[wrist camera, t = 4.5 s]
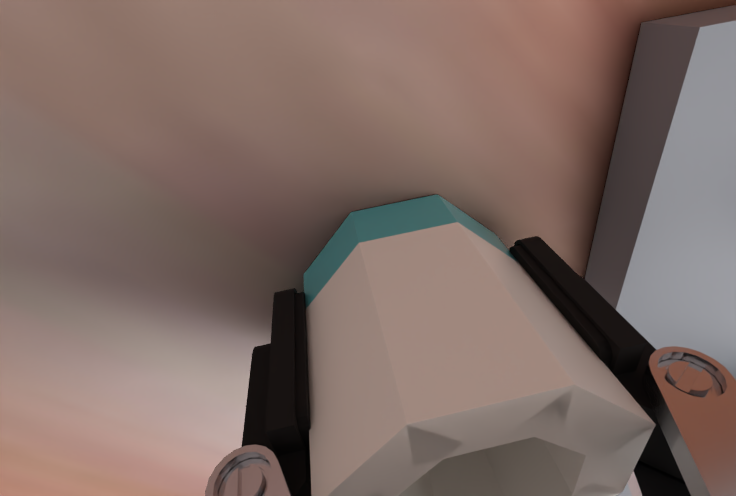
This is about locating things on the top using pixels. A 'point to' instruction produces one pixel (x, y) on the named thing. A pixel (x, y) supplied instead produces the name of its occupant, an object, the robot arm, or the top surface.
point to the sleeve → (453, 369)
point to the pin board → (675, 190)
